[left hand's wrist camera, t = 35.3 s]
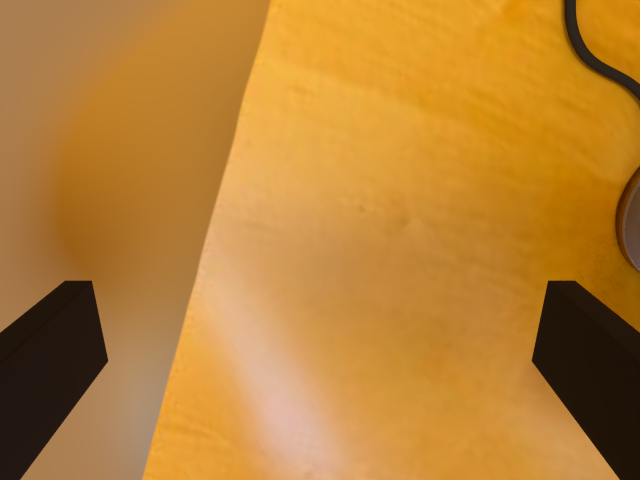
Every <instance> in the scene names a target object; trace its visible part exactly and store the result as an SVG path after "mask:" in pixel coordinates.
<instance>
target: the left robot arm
mask: <svg viewBox="0 0 640 480" xmlns="http://www.w3.org/2000/svg"><path fill="white" fill-rule="evenodd" d="M565 21H566V27H567V31H568V35H569V38H570V41H571V43H572V45H573V47H574V49H575V51H576V52H577V54H578V55H579V57H580V58H581V59H582V60H583V61H584V62H585V63H586V64H587V65H589V66H590V67H591V68H593V69H594V70H596V71H598V72H599V73H601V74H603V75H605V76H607V77H609V78H611V79H613V80H615V81H617V82H619V83H620V84H622V85H624V86H625V87H626V88H628V89H629V90H630V91H631V92H632V93H633V94H635V95H636V97H637V98H638V99H639V100H640V84H639V83H638V82H636V81H635V80H634V79H632V78H631V77H629V76H627V75H626V74H624V73H622V72H620V71H618V70H616V69H614V68H612V67H610V66H608V65H606V64H605V63H603V62H601V61H600V60H599V59H597V58H596V57H595V56H594V55H593V54H592V53H591V52H590V51H589V50H588V48H587V47H586V45H585V44H584V42H583V40H582V37H581V35H580V32H579V29H578V25H577V19H576V0H565ZM616 234H617V240H618V244H619V247H620V250H621V252H622V254H623V256H624V257H625V259H626V260H627V262H628V263H629V264H630V265H631V266H632V267H633V268H634V269H635V270H636V271H638V272H639V273H640V168H639V170H638V171H637V172H636V174H635V175H634V176H633V178H632V179H631V181H630V182H629V184H628V186H627V188H626V190H625V192H624V194H623V196H622V199H621V202H620V205H619V208H618V213H617V219H616ZM107 362H108V357H107V353H106V348H105V343H104V338H103V333H102V328H101V323H100V319H99V314H98V309H97V304H96V299H95V294H94V289H93V285H92V281H64V282H63V283H62V284H60V285H59V286H58V287H57V288H55V289H54V290H53V291H52V292H50V293H49V294H48V295H47V296H46V297H44V298H43V299H42V300H41V301H39V302H38V303H37V304H36V305H34V306H33V307H32V308H31V309H29V310H28V311H27V312H26V313H24V314H23V315H22V316H21V317H19V318H18V319H17V320H16V321H14V322H13V323H12V324H11V325H9V326H8V327H7V328H6V329H4V330H3V331H2V332H1V333H0V480H20V479H21V478H22V476H23V475H24V474H25V472H26V471H27V470H28V468H29V467H30V466H31V464H32V463H33V462H34V460H35V459H36V458H37V456H38V455H39V454H40V452H41V451H42V449H43V448H44V447H45V445H46V444H47V443H48V441H49V440H50V439H51V437H52V436H53V435H54V433H55V432H56V431H57V429H58V428H59V427H60V425H61V424H62V423H63V421H64V420H65V419H66V417H67V416H68V414H69V413H70V412H71V410H72V409H73V408H74V406H75V405H76V404H77V402H78V401H79V400H80V398H81V397H82V396H83V394H84V393H85V392H86V390H87V389H88V388H89V386H90V385H91V384H92V382H93V381H94V380H95V378H96V377H97V375H98V374H99V373H100V371H101V370H102V369H103V367H104V366H105V365H106V363H107ZM532 362H533V363H534V365H535V366H536V367H537V369H538V370H539V371H540V373H541V374H542V376H543V377H544V378H545V380H546V381H547V382H548V384H549V385H550V386H551V388H552V389H553V390H554V392H555V393H556V394H557V396H558V397H559V398H560V400H561V401H562V402H563V404H564V405H565V406H566V408H567V409H568V410H569V412H570V413H571V415H572V416H573V417H574V419H575V420H576V421H577V423H578V424H579V425H580V427H581V428H582V429H583V431H584V432H585V433H586V435H587V436H588V437H589V439H590V440H591V441H592V443H593V444H594V445H595V447H596V448H597V449H598V451H599V452H600V454H601V455H602V456H603V458H604V459H605V460H606V462H607V463H608V464H609V466H610V467H611V468H612V470H613V471H614V472H615V474H616V475H617V476H618V478H619V479H620V480H640V333H639V332H638V331H637V330H636V329H634V328H633V327H632V326H631V325H629V324H628V323H627V322H626V321H624V320H623V319H622V318H621V317H619V316H618V315H617V314H616V313H614V312H613V311H612V310H611V309H609V308H608V307H607V306H606V305H604V304H603V303H602V302H601V301H599V300H598V299H597V298H596V297H595V296H593V295H592V294H591V293H590V292H588V291H587V290H586V289H585V288H583V287H582V286H581V285H580V284H578V283H577V282H576V281H548V284H547V289H546V294H545V299H544V304H543V309H542V314H541V318H540V323H539V328H538V333H537V338H536V343H535V348H534V353H533V357H532Z"/></svg>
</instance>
